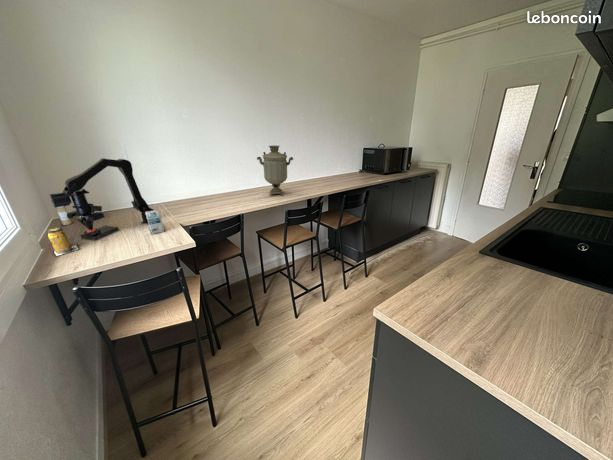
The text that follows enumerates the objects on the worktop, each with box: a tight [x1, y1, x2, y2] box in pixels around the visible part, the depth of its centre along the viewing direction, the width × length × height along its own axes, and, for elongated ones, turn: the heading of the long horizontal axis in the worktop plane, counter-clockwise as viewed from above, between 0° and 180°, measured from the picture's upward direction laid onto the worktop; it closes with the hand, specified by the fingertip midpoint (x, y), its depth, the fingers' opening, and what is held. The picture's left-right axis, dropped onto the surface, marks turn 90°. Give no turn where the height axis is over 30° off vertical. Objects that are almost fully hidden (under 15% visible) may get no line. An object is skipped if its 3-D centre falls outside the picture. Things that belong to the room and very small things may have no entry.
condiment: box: [47, 227, 79, 257], centre depth 123 cm, size 7×8×12 cm
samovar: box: [256, 144, 294, 197], centre depth 213 cm, size 30×26×40 cm
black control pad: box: [79, 225, 120, 241], centre depth 142 cm, size 10×14×4 cm
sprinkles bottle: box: [55, 206, 73, 226], centre depth 155 cm, size 5×5×13 cm
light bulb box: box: [145, 209, 165, 235], centre depth 146 cm, size 11×7×11 cm, turn 35°
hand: (91, 229), depth 138 cm, fingers closed, pressing on start button
